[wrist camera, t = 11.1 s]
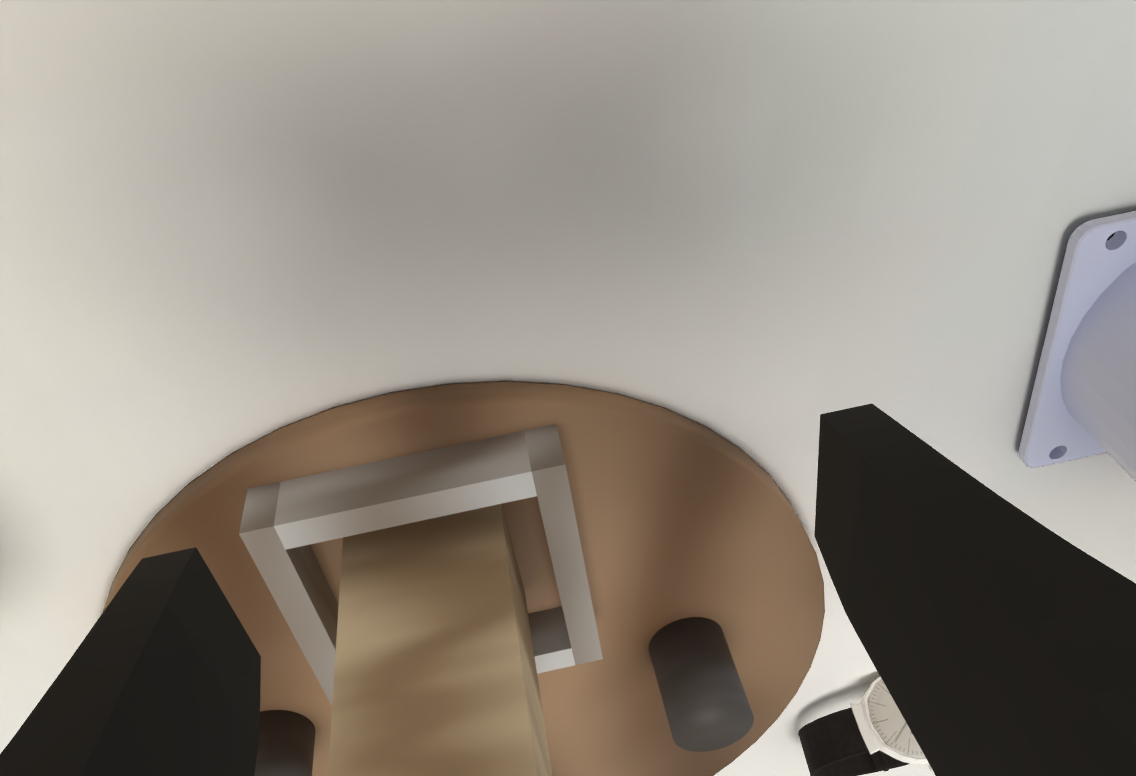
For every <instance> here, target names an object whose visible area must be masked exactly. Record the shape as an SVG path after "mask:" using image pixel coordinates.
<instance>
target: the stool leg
mask: <svg viewBox="0 0 1136 776" xmlns="http://www.w3.org/2000/svg"><path fill="white" fill-rule="evenodd" d="M328 776H552V769H551V763H550V756H549V749H548V743H547V736H546V729H545V723H544V716H543V709H542V703H541V696H540V690H539V683H538V676H537V670H536V663H535V656H534V650H533V643H532V636H531V630H530V623H529V617H528V610H527V603H526V597H525V590H524V586H523V583H522V579H521V575H520V571H519V567H518V564H517V560H516V556H515V552H514V549H513V545H512V541H511V537H510V533H509V530H508V526H507V522H506V518H505V515H504V511H503V507H502V504H497V505H493V506H488V507H483V508H479V509H474V510H469V511H465V512H460V513H455V514H450V515H446V516H441V517H436V518H432V519H427V520H422V521H418V522H413V523H408V524H404V525H399V526H394V527H389V528H385V529H380V530H375V531H371V532H366V533H361V534H357V535H352V536H347V537H343V544H342V560H341V575H340V591H339V607H338V623H337V638H336V654H335V670H334V686H333V701H332V717H331V733H330V749H329V765H328Z"/></svg>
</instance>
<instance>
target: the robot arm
mask: <svg viewBox="0 0 1136 776" xmlns="http://www.w3.org/2000/svg"><path fill="white" fill-rule="evenodd" d="M1114 232H1115V234H1114V236H1113V237H1112V238H1111V239H1109V240H1108V241H1107V239H1108V237H1109V236H1110V235H1112V234H1113V233H1114ZM1102 453H1108V454H1109V455H1110V456H1111V457H1112V458H1113V459H1114V460H1115V461H1116V462H1117V463H1118V464H1119V465H1120V466H1121V467H1122V468H1123V469H1124V470H1125V471H1126V472H1127V473H1128V474H1129V475H1130V476H1131V477H1132V478H1133V479H1134V480H1135V481H1136V211H1132V212H1127V213H1122V214H1117V215H1113V216H1108V217H1103V218H1098V219H1093V220H1090V221H1087V222H1085V223H1083V224H1082V225H1080V226H1079V227H1077V228H1076V229H1075V231H1074V232H1073V233H1072V234H1071V236H1070V239H1069V241H1068V244H1067V248H1066V253H1065V257H1064V261H1063V265H1062V270H1061V274H1060V278H1059V282H1058V286H1057V291H1056V295H1055V299H1054V303H1053V308H1052V312H1051V316H1050V320H1049V325H1048V329H1047V333H1046V337H1045V342H1044V346H1043V350H1042V354H1041V358H1040V363H1039V367H1038V371H1037V375H1036V380H1035V384H1034V388H1033V392H1032V397H1031V401H1030V405H1029V409H1028V413H1027V418H1026V422H1025V426H1024V430H1023V435H1022V439H1021V443H1020V447H1019V452H1018V454H1019V458H1020V459H1021V460H1022V461H1023V462H1024V464H1025V465H1026V466H1028V467H1031V468H1036V467H1042V466H1047V465H1052V464H1056V463H1061V462H1065V461H1070V460H1075V459H1079V458H1084V457H1088V456H1093V455H1098V454H1102ZM815 538H816V541H817V543H818V546H819V548H820V551H821V553H822V556H823V558H824V561H825V564H826V566H827V569H828V571H829V574H830V576H831V579H832V581H833V584H834V586H835V588H836V591H837V593H838V596H839V598H840V600H841V603H842V605H843V607H844V610H845V612H846V614H847V616H848V618H849V620H850V622H851V624H852V625H853V627H854V629H855V631H856V633H857V635H858V636H859V638H860V640H861V642H862V644H863V646H864V647H865V649H866V651H867V653H868V655H869V657H870V658H871V660H872V662H873V664H874V666H875V667H876V669H877V671H878V673H879V675H880V676H881V678H882V680H883V682H884V684H885V685H886V687H887V689H888V691H889V693H890V694H891V696H892V698H893V700H894V702H895V703H896V705H897V707H898V709H899V711H900V712H901V714H902V716H903V718H904V719H905V721H906V723H907V725H908V727H909V728H910V730H911V732H912V734H913V736H914V737H915V739H916V741H917V743H918V745H919V746H920V748H921V750H922V752H923V754H924V755H925V757H926V759H927V761H928V763H929V764H930V766H931V768H932V770H933V771H934V773H935V775H936V776H1136V584H1135V583H1134V582H1132V581H1131V580H1129V579H1127V578H1126V577H1124V576H1122V575H1121V574H1119V573H1117V572H1116V571H1114V570H1113V569H1111V568H1109V567H1108V566H1106V565H1104V564H1103V563H1101V562H1100V561H1098V560H1096V559H1095V558H1093V557H1091V556H1090V555H1088V554H1086V553H1085V552H1083V551H1082V550H1080V549H1078V548H1077V547H1075V546H1074V545H1072V544H1070V543H1069V542H1067V541H1066V540H1064V539H1063V538H1061V537H1060V536H1058V535H1057V534H1055V533H1053V532H1052V531H1050V530H1049V529H1047V528H1046V527H1044V526H1043V525H1042V524H1040V523H1039V522H1037V521H1036V520H1034V519H1033V518H1031V517H1030V516H1028V515H1027V514H1025V513H1024V512H1022V511H1021V510H1019V509H1018V508H1017V507H1015V506H1014V505H1012V504H1011V503H1009V502H1008V501H1006V500H1005V499H1003V498H1002V497H1000V496H999V495H997V494H996V493H995V492H993V491H992V490H990V489H989V488H988V487H986V486H985V485H983V484H982V483H980V482H979V481H978V480H976V479H975V478H973V477H972V476H971V475H969V474H968V473H966V472H965V471H964V470H962V469H961V468H960V467H958V466H957V465H955V464H954V463H953V462H951V461H950V460H948V459H947V458H946V457H944V456H943V455H942V454H940V453H939V452H938V451H936V450H935V449H933V448H932V447H931V446H929V445H928V444H927V443H925V442H924V441H923V440H921V439H920V438H918V437H917V436H916V435H914V434H913V433H912V432H910V431H909V430H908V429H906V428H905V427H903V426H902V425H901V424H899V423H898V422H897V421H895V420H894V419H892V418H891V417H890V416H888V415H887V414H886V413H884V412H883V411H881V410H880V409H879V408H877V407H876V406H875V405H873V404H868V405H863V406H858V407H854V408H849V409H844V410H840V411H835V412H830V413H825V414H821V415H820V435H819V456H818V477H817V498H816V519H815ZM260 686H261V656H260V654H259V653H258V651H257V649H256V648H255V646H254V644H253V642H252V641H251V639H250V637H249V636H248V634H247V632H246V631H245V629H244V627H243V626H242V624H241V622H240V620H239V619H238V617H237V615H236V614H235V612H234V610H233V609H232V607H231V605H230V604H229V602H228V600H227V598H226V597H225V595H224V593H223V592H222V590H221V588H220V587H219V585H218V583H217V582H216V580H215V578H214V576H213V575H212V573H211V571H210V570H209V568H208V566H207V565H206V563H205V561H204V560H203V558H202V556H201V554H200V553H199V551H198V549H197V548H196V547H194V548H189V549H185V550H180V551H175V552H171V553H166V554H161V555H157V556H152V557H147V558H142V559H141V561H140V562H139V563H138V565H137V566H136V567H135V569H134V570H133V571H132V573H131V574H130V575H129V577H128V578H127V579H126V581H125V582H124V584H123V585H122V586H121V588H120V589H119V591H118V592H117V593H116V595H115V596H114V598H113V599H112V601H111V602H110V603H109V605H108V606H107V608H106V609H105V610H104V612H103V613H102V615H101V616H100V618H99V619H98V620H97V622H96V623H95V625H94V626H93V628H92V629H91V630H90V632H89V633H88V635H87V636H86V638H85V639H84V640H83V642H82V643H81V645H80V646H79V647H78V649H77V650H76V652H75V653H74V655H73V656H72V657H71V659H70V660H69V662H68V663H67V664H66V666H65V667H64V669H63V670H62V671H61V673H60V674H59V675H58V677H57V678H56V680H55V681H54V682H53V684H52V685H51V686H50V688H49V689H48V691H47V692H46V693H45V695H44V696H43V697H42V699H41V700H40V702H39V703H38V704H37V706H36V707H35V708H34V710H33V711H32V713H31V714H30V715H29V717H28V718H27V719H26V721H25V722H24V724H23V725H22V726H21V728H20V729H19V730H18V732H17V733H16V735H15V736H14V737H13V739H12V740H11V741H10V742H9V744H8V745H7V746H6V748H5V749H4V750H3V751H2V753H1V754H0V776H254V773H255V766H256V759H257V752H258V744H259V723H260Z"/></svg>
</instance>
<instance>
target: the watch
mask: <svg viewBox="0 0 1136 776" xmlns="http://www.w3.org/2000/svg"><path fill="white" fill-rule="evenodd" d="M798 735H799V736H800V740H801V744H802V747H803V751H804V754H805V758H806V761H807V765H808V768H809V771H810V776H858V775H863V774H868V773H874V772H878V771H888V770H889V769H891V768H896V767H900V766H905V765H908V764H910V763H911V764H916V765H921V764H927V763H928V761H927V759H926V757H925V755H924V754H923V752H922V750H921V748H920V746H919V745H918V743H917V741H916V739H915V737H914V736H913V734H912V732H911V730H910V728H909V727H908V725H907V723H906V721H905V719H904V718H903V716H902V714H901V712H900V711H899V709H898V707H897V705H896V703H895V702H894V700H893V698H892V696H891V694H890V693H889V691H888V689H887V687H886V685H885V684H884V682H883V680H882V678H881V676H880V677H878V678H877V679H876V680H874V681H873V682H872V684H871V686H870V687H869V689H868V690H867V692H866V693H865V695H864V697H863V699H862V701H861V703H852V704H851V708H848V709H845V710H841V711H838V712H835V713H832V714H829V715H827V716H824V717H822V718H819V719H817V720H815V721H813V722H811V723H809V724H807V725H805V726H804V727H803V728H801V729H800V730H799V734H798ZM928 766H929V769H930V771H931V772H933V770H932V768H931V766H930V764H929V765H928Z"/></svg>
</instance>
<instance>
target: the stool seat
mask: <svg viewBox="0 0 1136 776" xmlns="http://www.w3.org/2000/svg"><path fill="white" fill-rule="evenodd" d="M497 504H502V507H503V511H504V515H505V518H506V522H507V526H508V530H509V533H510V537H511V541H512V545H513V549H514V552H515V556H516V560H517V564H518V567H519V571H520V575H521V579H522V583H523V586H524V590H525V597H526V603H527V610H528V617H529V623H530V630H531V636H532V643H533V650H534V656H535V663H536V670H537V676H538V683H539V690H540V696H541V703H542V709H543V716H544V723H545V729H546V736H547V743H548V749H549V756H550V763H551V769H552V776H713V775H715V774H716V773H717V772H719V771H720V770H722V769H723V768H724V767H726V766H727V765H729V764H730V763H731V762H733V761H734V760H735V759H736V758H737V757H738V756H740V755H741V754H742V753H743V752H744V751H745V750H747V749H748V748H749V747H750V746H751V745H752V744H753V743H755V742H756V741H757V740H758V739H759V738H760V737H761V736H762V735H763V733H764V732H765V731H766V730H767V729H768V728H769V727H770V726H771V725H772V724H773V723H774V722H775V721H776V720H777V719H778V717H779V716H780V715H781V713H782V712H783V711H784V709H785V708H786V707H787V705H788V704H789V702H790V701H791V700H792V698H793V697H794V696H795V694H796V693H797V691H798V689H799V687H800V686H801V684H802V682H803V680H804V678H805V676H806V674H807V673H808V671H809V669H810V667H811V664H812V662H813V659H814V656H815V653H816V650H817V647H818V645H819V642H820V638H821V632H822V626H823V619H824V613H825V604H824V582H823V578H822V574H821V570H820V566H819V562H818V558H817V555H816V552H815V550H814V548H813V546H812V544H811V542H810V540H809V538H808V536H807V534H806V532H805V530H804V528H803V526H802V524H801V522H800V520H799V518H798V516H797V514H796V512H795V510H794V508H793V506H792V504H791V503H790V501H789V500H788V498H787V497H786V496H785V494H784V493H783V492H782V491H781V489H780V488H779V487H778V485H777V484H776V483H775V481H774V480H773V479H772V478H771V476H770V475H769V474H768V473H767V472H766V471H765V470H764V469H762V468H761V467H760V466H759V465H758V464H757V463H756V462H755V461H754V460H752V459H751V458H750V457H749V456H748V455H747V454H746V453H745V452H744V451H742V450H741V449H740V448H738V447H737V446H735V445H734V444H732V443H730V442H729V441H727V440H726V439H724V438H723V437H721V436H719V435H718V434H716V433H715V432H713V431H712V430H710V429H709V428H707V427H705V426H703V425H701V424H698V423H696V422H694V421H692V420H690V419H687V418H685V417H683V416H681V415H678V414H676V413H674V412H672V411H670V410H667V409H665V408H662V407H659V406H655V405H652V404H649V403H645V402H642V401H639V400H635V399H632V398H629V397H625V396H622V395H619V394H614V393H608V392H603V391H597V390H591V389H585V388H580V387H574V386H568V385H559V384H542V383H526V382H509V381H506V382H484V383H463V384H447V385H440V386H434V387H427V388H421V389H414V390H408V391H401V392H394V393H389V394H385V395H381V396H377V397H374V398H370V399H366V400H362V401H358V402H355V403H351V404H347V405H343V406H339V407H336V408H332V409H330V410H327V411H324V412H322V413H319V414H317V415H314V416H311V417H309V418H306V419H304V420H301V421H298V422H296V423H293V424H291V425H288V426H285V427H283V428H280V429H278V430H276V431H274V432H272V433H271V434H269V435H267V436H265V437H263V438H261V439H259V440H257V441H255V442H253V443H252V444H250V445H248V446H246V447H244V448H242V449H240V450H238V451H236V452H234V453H232V454H231V455H229V456H228V457H226V458H225V459H224V460H222V461H221V462H219V463H218V464H217V465H215V466H214V467H212V468H211V469H209V470H208V471H207V472H205V473H204V474H202V475H201V476H199V477H198V478H197V479H195V480H194V481H192V482H191V483H189V484H188V485H187V486H186V487H185V488H184V489H183V490H182V491H181V492H180V493H179V494H178V495H177V496H176V497H175V498H174V499H172V500H171V501H170V502H169V503H168V504H167V505H166V506H165V507H164V508H163V509H162V510H161V511H160V512H159V513H158V514H157V515H156V516H155V517H154V518H153V519H152V521H151V522H150V523H149V525H148V526H147V527H146V529H145V530H144V531H143V533H142V534H141V535H140V536H139V538H138V539H137V540H136V542H135V543H134V544H133V546H132V547H131V548H130V550H129V552H128V554H127V556H126V558H125V560H124V562H123V564H122V565H121V567H120V569H119V571H118V573H117V575H116V577H115V579H114V581H113V583H112V586H111V589H110V592H109V595H108V598H107V601H106V604H105V607H104V610H105V609H106V608H107V606H108V605H109V603H110V602H111V601H112V599H113V598H114V596H115V595H116V593H117V592H118V591H119V589H120V588H121V586H122V585H123V584H124V582H125V581H126V579H127V578H128V577H129V575H130V574H131V573H132V571H133V570H134V569H135V567H136V566H137V565H138V563H139V562H140V561H141V559H142V558H147V557H152V556H157V555H161V554H166V553H171V552H175V551H180V550H185V549H189V548H194V547H196V548H197V549H198V551H199V553H200V554H201V556H202V558H203V560H204V561H205V563H206V565H207V566H208V568H209V570H210V571H211V573H212V575H213V576H214V578H215V580H216V582H217V583H218V585H219V587H220V588H221V590H222V592H223V593H224V595H225V597H226V598H227V600H228V602H229V604H230V605H231V607H232V609H233V610H234V612H235V614H236V615H237V617H238V619H239V620H240V622H241V624H242V626H243V627H244V629H245V631H246V632H247V634H248V636H249V637H250V639H251V641H252V642H253V644H254V646H255V648H256V649H257V651H258V653H259V654H260V656H261V686H260V723H259V744H258V752H257V759H256V766H255V773H254V776H328V765H329V749H330V733H331V717H332V701H333V686H334V670H335V654H336V638H337V623H338V607H339V591H340V575H341V560H342V544H343V537H347V536H352V535H357V534H361V533H366V532H371V531H375V530H380V529H385V528H389V527H394V526H399V525H404V524H408V523H413V522H418V521H422V520H427V519H432V518H436V517H441V516H446V515H450V514H455V513H460V512H465V511H469V510H474V509H479V508H483V507H488V506H493V505H497ZM104 610H103V612H104Z"/></svg>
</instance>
